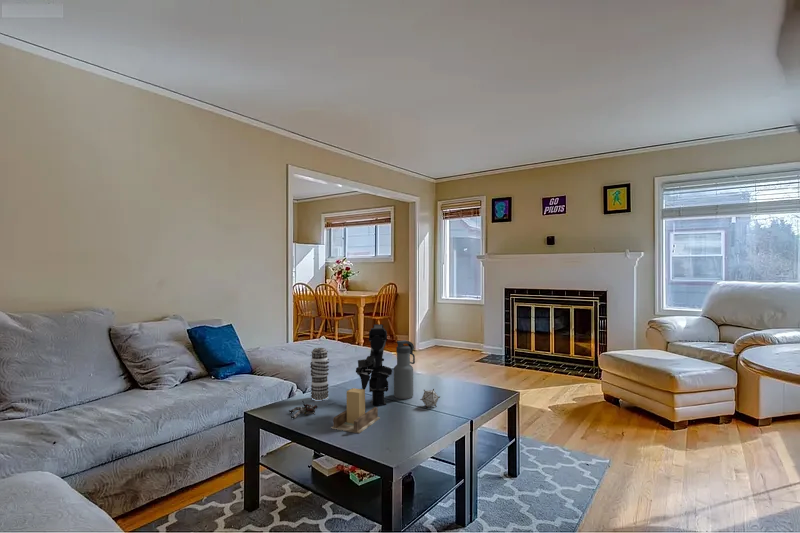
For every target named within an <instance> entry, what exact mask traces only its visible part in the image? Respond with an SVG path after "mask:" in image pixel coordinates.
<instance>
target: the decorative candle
mask: <svg viewBox="0 0 800 533" xmlns="http://www.w3.org/2000/svg"><path fill="white" fill-rule="evenodd" d="M329 360H330V359H329V358H328V350H327V349H326V348H325V347H316V348H313V349H312V350H311V362H310V366H309V367H310V376H311V385H310V387H311V388H310V390H311V392H310V398H313V399H315V400H323V399H327V398H328V399H329V396H330V394H329V384H328V383H329V381H328V375H329V372H328V371H329V365H328V364H329V363H330V361H329ZM328 399H327V400H328Z"/></svg>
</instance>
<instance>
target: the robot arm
mask: <svg viewBox="0 0 800 533" xmlns="http://www.w3.org/2000/svg"><path fill="white" fill-rule="evenodd" d="M368 332H369V333H368V341H369V342H370V354H369V355H368V356H367V357H366V358H364V359H359V360H357V367H356V369H355V373H356V374H357V376H359V378H360V382H361V389H364V390H365V391H366V388H367V386H368V385H369V386H368V389H369V391H368V392H370V393H371V396H372V397H371V398H372V399H371V400H370V404H371V405H372V406H375V407H377V406H385V405H387V402H386V401H385V392H388V391H389V380H388V378H389V377H390V376H392V373H393V369H392V368H391V367H389V366H386V365H383V362H384V361H385V358H383V357H384V349H385V347H386V342H388V331H387V330H386V329H385V327H384V324H380V323H379V324H373V328H372V327H371V328H370V330H369V331H368Z"/></svg>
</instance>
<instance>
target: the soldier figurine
mask: <svg viewBox="0 0 800 533" xmlns="http://www.w3.org/2000/svg"><path fill="white" fill-rule="evenodd" d="M302 404H303V406H296V407H294V408H292V409H291V410H290V409H288V412H289V413H290V412H291V414H293V413H294V415H290V418H291V419H292V418H294V419H296V418H298V416H299V415H302V414H303V415H306V414H314V413H315V414H316V409H318V405H317V404H315V405H313V404H307V403H305V402H304V400H302ZM296 411H297V412H296ZM292 412H293V413H292ZM295 412H296V413H295ZM315 414H314V415H315Z"/></svg>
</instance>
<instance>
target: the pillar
mask: <svg viewBox="0 0 800 533" xmlns="http://www.w3.org/2000/svg"><path fill="white" fill-rule="evenodd" d="M346 410H347V423H353V424H354V420H356V419H357V418H359V417H360V416H362V415H363V414H365V413H366V389H365V390H364V389H362V388H354V387H353V388H350V389H348V390H346Z"/></svg>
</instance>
